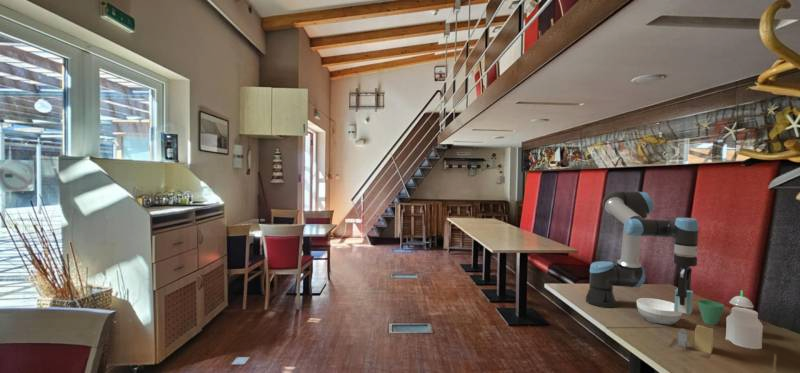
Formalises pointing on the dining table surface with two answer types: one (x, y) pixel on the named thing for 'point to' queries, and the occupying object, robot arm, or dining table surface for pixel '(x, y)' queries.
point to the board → (689, 349)
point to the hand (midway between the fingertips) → (683, 310)
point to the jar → (744, 328)
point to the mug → (710, 311)
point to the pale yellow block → (703, 339)
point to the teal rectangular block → (689, 301)
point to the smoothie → (740, 302)
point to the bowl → (658, 311)
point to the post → (682, 338)
